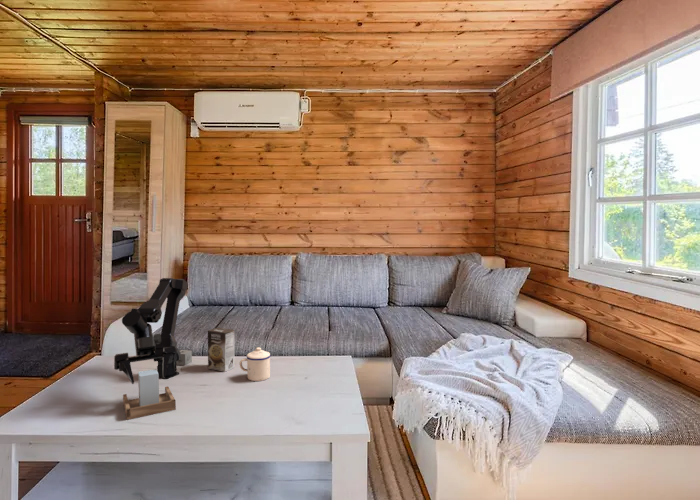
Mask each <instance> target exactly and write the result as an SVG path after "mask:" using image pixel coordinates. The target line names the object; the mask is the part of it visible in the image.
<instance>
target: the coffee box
mask: <svg viewBox="0 0 700 500" xmlns="http://www.w3.org/2000/svg"><path fill="white" fill-rule="evenodd" d="M234 368H235V329H230V328H222V327H215V328H211V329H208V330H207V369H209V370H214V371H220V372H224V373H225V372H228V371H231V370H232V369H234Z"/></svg>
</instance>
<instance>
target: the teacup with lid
mask: <svg viewBox="0 0 700 500" xmlns="http://www.w3.org/2000/svg"><path fill="white" fill-rule="evenodd" d="M239 361H240V362H239V367H240V369H241V371H243V372H247V375H246V377H247V379H248V380H249V381H252V382H261V381H265V380H268V379H270V376H271V353H270V352H269V351H266V350H264V349H262V348H261V347H256V348H255V349H254V350H253V351H251V352H249V353H247V355H246V358H242V359H241V360H239ZM245 361H246V363H247V365H246V367H247V368H245V367H244V366H243V362H245Z"/></svg>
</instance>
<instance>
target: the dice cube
mask: <svg viewBox="0 0 700 500" xmlns="http://www.w3.org/2000/svg"><path fill="white" fill-rule="evenodd" d="M179 351H180V360H178V361H176V366H185V367H186V366H187V365H190V363H192V362H193V356H192V355H193V351H192V350H189V349H188V350H187V349H181V350H179Z"/></svg>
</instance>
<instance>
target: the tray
mask: <svg viewBox="0 0 700 500" xmlns="http://www.w3.org/2000/svg"><path fill="white" fill-rule="evenodd" d="M128 398H129V397H128V395H127V393H125V394H123V395H122V404H123V408H124V409H123V410H124V412H125V416H126V417H125V418H126V420H127V421H128V420H129V421H130V420H134V419H138V418H142V417H147V416H152V415H153V416H154V415H157V414H161V413H166V412H170V411H176V409H177V404H176V399H175V396H174V395H173V393H172V391H171V389H170V387H169V386H165V387H164V393H159V403H155V404H150V405H145V406H140V405H139V397H137V398H133V399H132V398H131V399H128Z"/></svg>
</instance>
